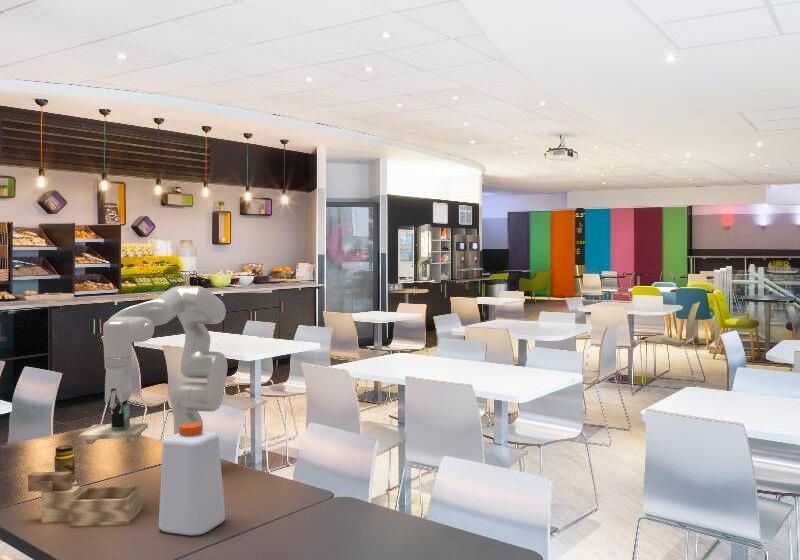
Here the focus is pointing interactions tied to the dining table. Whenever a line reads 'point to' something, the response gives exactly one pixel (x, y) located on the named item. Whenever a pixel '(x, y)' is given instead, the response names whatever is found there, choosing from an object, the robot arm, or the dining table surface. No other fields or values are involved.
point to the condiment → (65, 461)
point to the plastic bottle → (191, 482)
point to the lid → (114, 430)
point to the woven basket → (90, 505)
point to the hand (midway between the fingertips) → (120, 424)
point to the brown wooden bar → (60, 480)
